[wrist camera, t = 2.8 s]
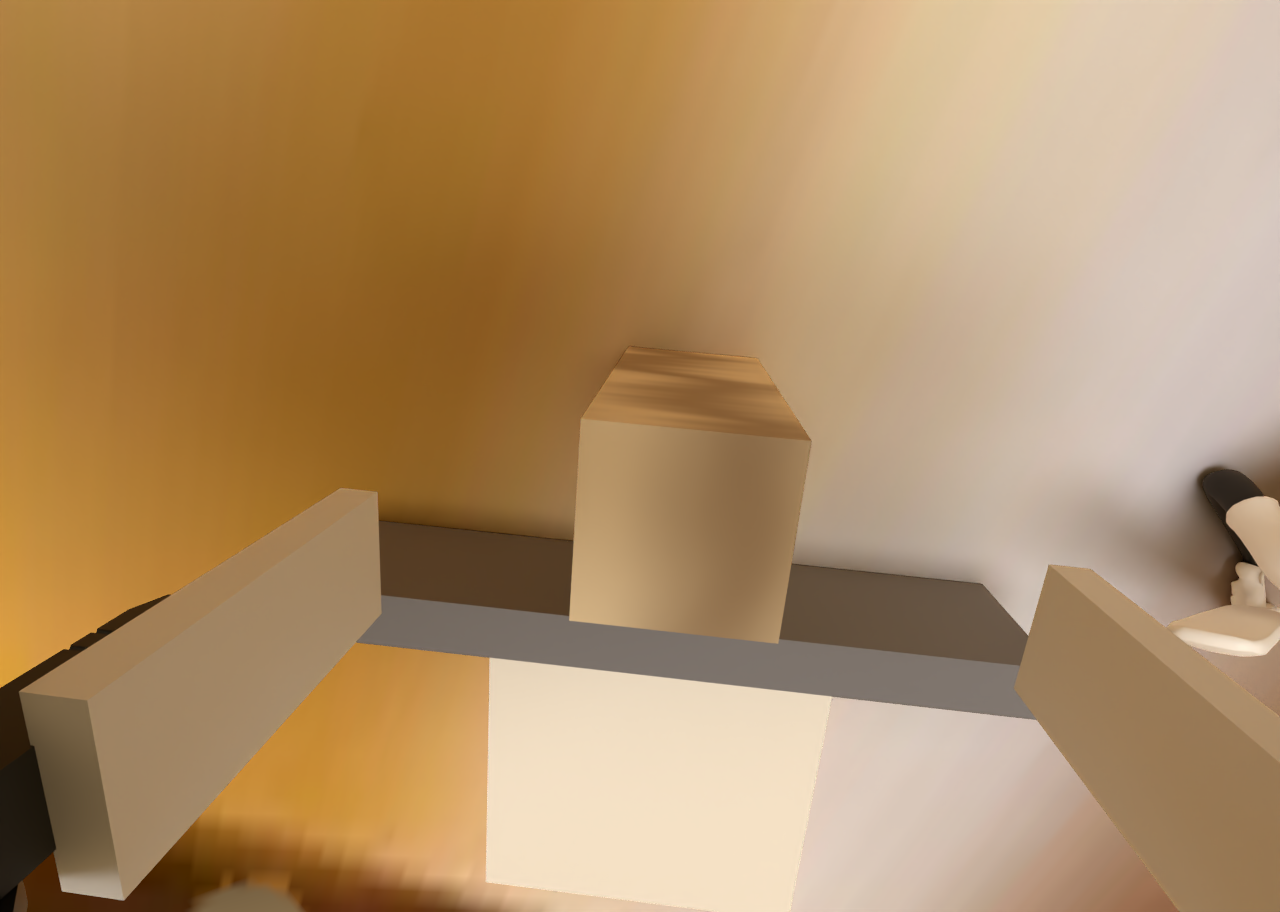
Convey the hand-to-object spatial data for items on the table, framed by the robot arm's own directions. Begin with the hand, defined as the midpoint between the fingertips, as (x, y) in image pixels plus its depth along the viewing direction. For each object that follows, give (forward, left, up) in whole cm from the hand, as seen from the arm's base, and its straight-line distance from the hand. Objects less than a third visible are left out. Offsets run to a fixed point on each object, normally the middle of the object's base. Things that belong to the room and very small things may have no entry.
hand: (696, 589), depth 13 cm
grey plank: (0, -7, -14) cm, 16 cm away
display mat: (0, -17, -14) cm, 22 cm away
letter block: (0, 0, -14) cm, 14 cm away
